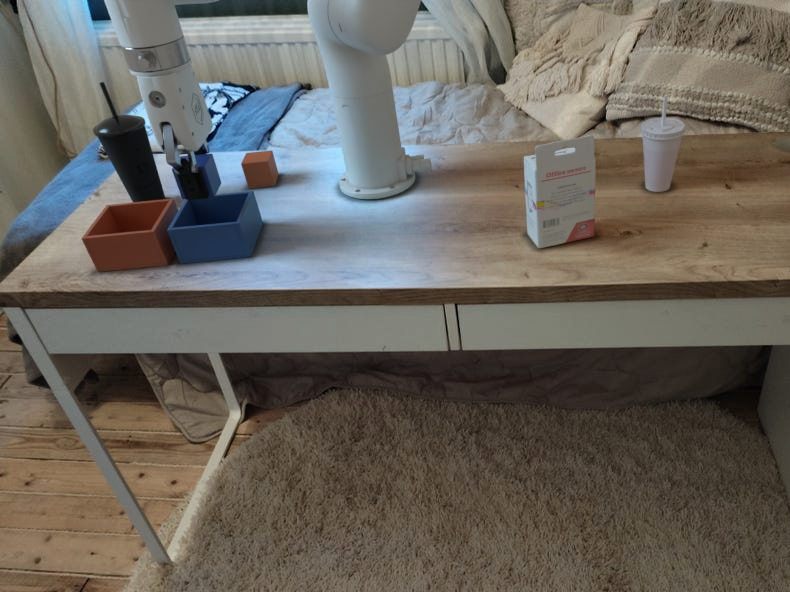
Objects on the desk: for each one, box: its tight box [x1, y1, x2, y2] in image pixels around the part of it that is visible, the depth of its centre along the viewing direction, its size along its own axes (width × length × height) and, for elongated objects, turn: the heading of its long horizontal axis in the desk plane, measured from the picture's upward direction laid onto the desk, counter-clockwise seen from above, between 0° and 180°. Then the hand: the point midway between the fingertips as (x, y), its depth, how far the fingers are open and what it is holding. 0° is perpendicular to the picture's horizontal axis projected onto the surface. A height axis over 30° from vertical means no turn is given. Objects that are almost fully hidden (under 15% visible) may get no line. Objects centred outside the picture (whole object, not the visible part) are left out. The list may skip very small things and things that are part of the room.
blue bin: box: [167, 190, 264, 265], centre depth 104 cm, size 10×10×6 cm
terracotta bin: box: [81, 198, 179, 273], centre depth 104 cm, size 10×10×6 cm
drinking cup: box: [92, 81, 167, 202], centre depth 111 cm, size 8×8×20 cm
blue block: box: [171, 153, 222, 201], centre depth 99 cm, size 4×4×4 cm
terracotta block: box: [240, 150, 280, 189], centre depth 120 cm, size 4×4×4 cm
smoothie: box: [639, 95, 686, 193], centre depth 105 cm, size 6×6×14 cm
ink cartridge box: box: [523, 134, 597, 249], centre depth 95 cm, size 9×5×15 cm, turn 106°
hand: (202, 188), depth 100 cm, fingers closed on blue block, 4 cm apart
